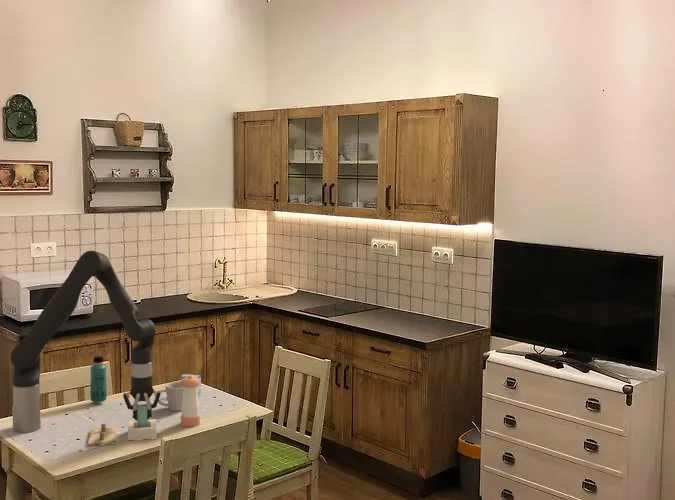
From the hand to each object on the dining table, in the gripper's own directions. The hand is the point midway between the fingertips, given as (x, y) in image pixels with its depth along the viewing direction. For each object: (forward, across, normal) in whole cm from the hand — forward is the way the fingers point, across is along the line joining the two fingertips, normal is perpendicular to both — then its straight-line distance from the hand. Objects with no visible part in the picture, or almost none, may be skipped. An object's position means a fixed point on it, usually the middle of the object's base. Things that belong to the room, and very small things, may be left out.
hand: (142, 418), depth 275 cm
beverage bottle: (+6, +18, -41) cm, 45 cm away
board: (+6, +14, 0) cm, 15 cm away
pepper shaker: (+6, -18, -9) cm, 21 cm away
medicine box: (+6, -20, -46) cm, 50 cm away
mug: (+6, -12, -28) cm, 31 cm away
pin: (+4, 0, 0) cm, 4 cm away
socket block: (+6, 0, 0) cm, 6 cm away
